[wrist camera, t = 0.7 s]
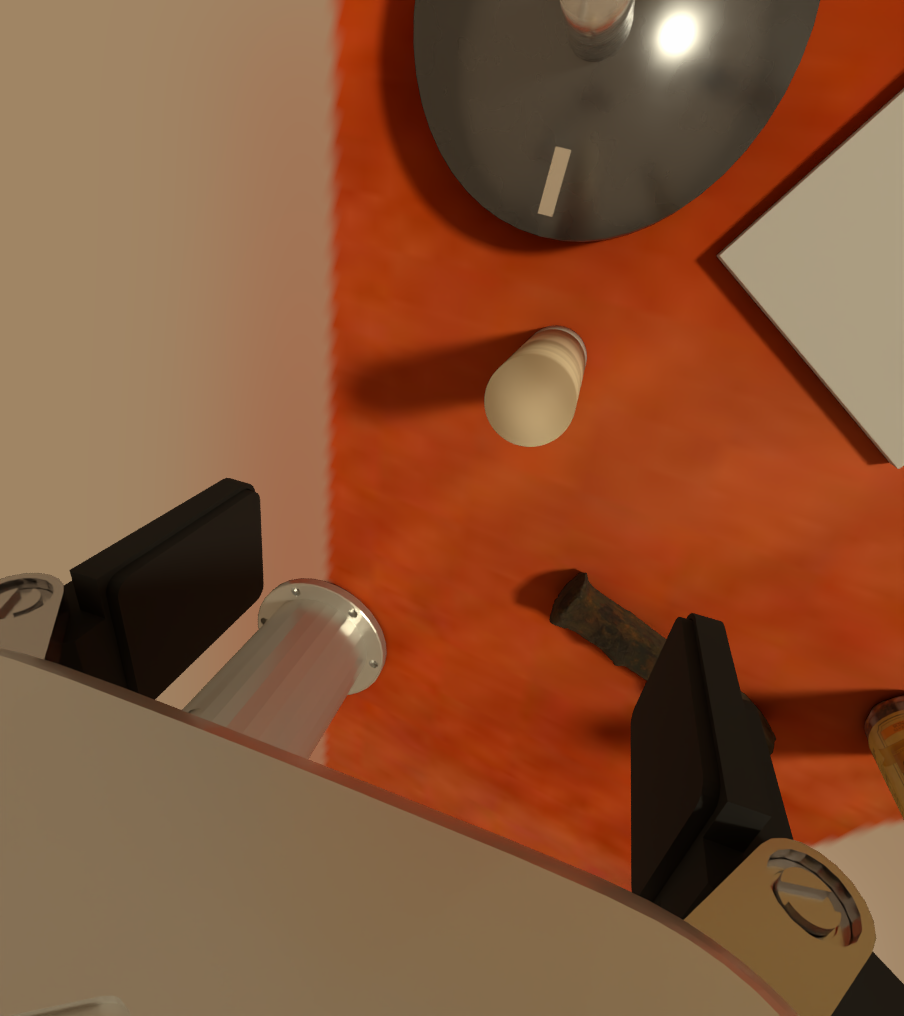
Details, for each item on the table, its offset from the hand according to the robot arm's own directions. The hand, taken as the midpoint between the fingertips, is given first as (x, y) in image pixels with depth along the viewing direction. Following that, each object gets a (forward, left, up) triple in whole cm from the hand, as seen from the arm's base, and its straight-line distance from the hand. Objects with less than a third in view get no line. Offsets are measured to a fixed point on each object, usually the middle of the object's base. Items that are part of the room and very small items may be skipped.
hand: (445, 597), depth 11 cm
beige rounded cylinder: (+1, +1, -26) cm, 26 cm away
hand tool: (-7, -21, -26) cm, 34 cm away
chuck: (+13, +11, -26) cm, 31 cm away
